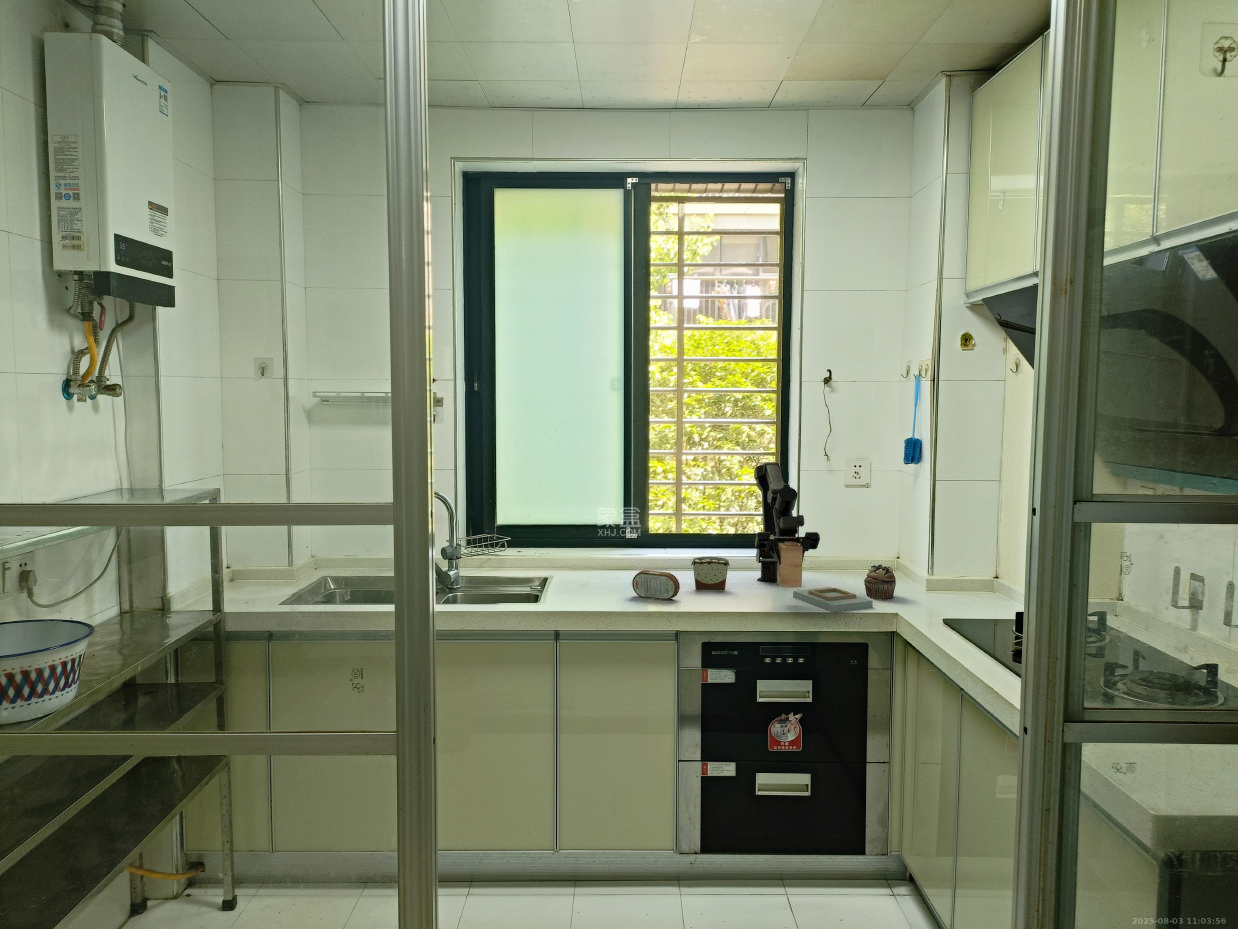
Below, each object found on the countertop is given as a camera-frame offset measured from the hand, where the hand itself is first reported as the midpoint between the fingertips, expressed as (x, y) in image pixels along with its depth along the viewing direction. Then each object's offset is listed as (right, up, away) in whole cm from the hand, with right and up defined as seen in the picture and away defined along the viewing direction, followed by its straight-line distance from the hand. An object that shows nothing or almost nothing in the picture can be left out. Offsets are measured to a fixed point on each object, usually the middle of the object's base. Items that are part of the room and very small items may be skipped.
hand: (790, 564), depth 245 cm
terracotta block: (0, -6, +2) cm, 7 cm away
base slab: (+13, -12, +5) cm, 19 cm away
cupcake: (+30, -12, +12) cm, 34 cm away
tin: (-40, -12, +10) cm, 43 cm away
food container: (-21, -11, +23) cm, 33 cm away
